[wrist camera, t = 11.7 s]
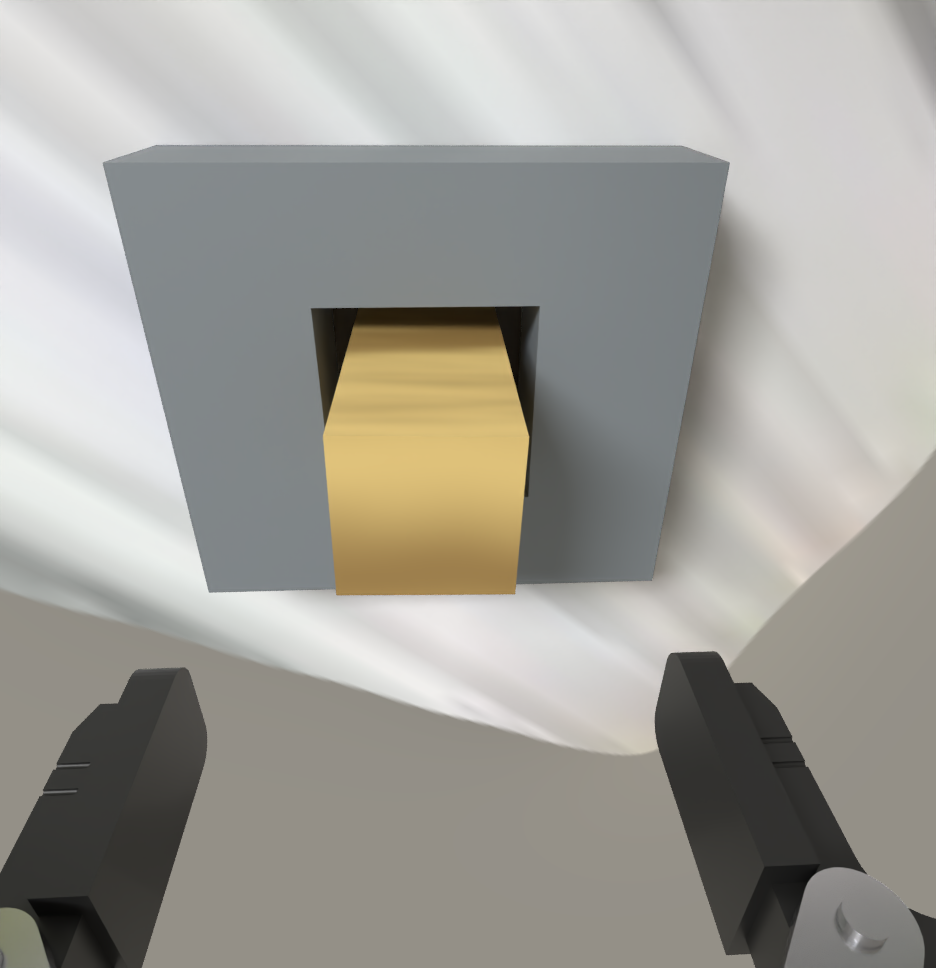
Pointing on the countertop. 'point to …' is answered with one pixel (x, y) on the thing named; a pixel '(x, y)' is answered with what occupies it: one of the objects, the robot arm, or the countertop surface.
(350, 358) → the peg
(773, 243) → the countertop surface
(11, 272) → the countertop surface
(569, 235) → the hole block
